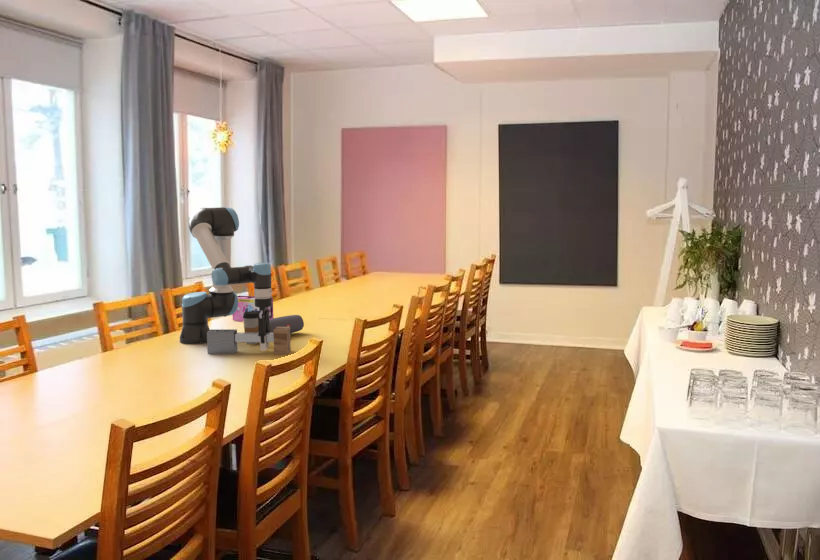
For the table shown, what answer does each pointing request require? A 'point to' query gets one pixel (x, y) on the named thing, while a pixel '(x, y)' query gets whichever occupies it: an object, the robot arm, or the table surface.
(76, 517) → the table surface
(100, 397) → the table surface
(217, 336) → the grey rectangular block
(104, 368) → the table surface
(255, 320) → the coffee cup
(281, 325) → the bluetooth speaker
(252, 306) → the gum box
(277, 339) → the socket
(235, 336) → the orange-tipped grey stick
